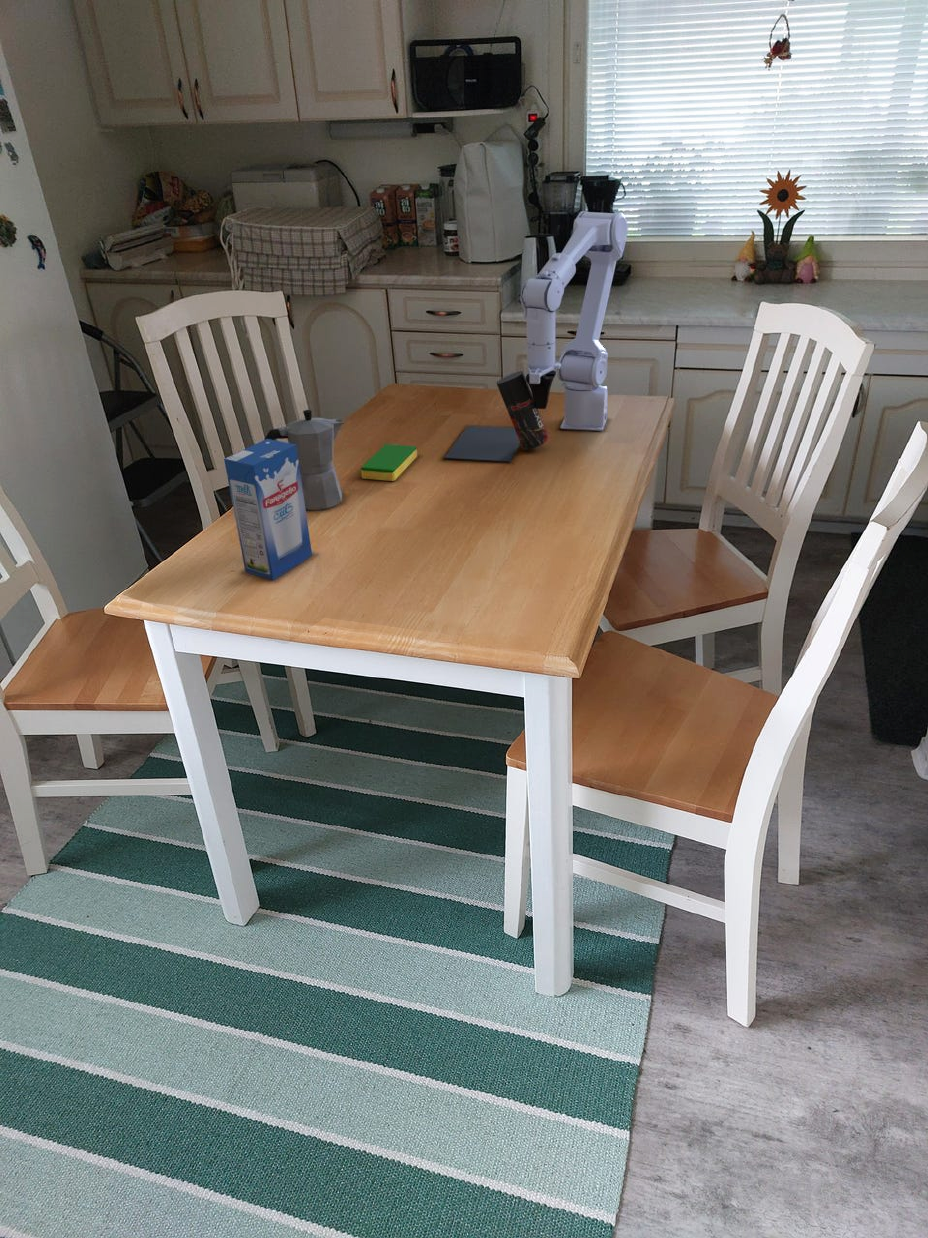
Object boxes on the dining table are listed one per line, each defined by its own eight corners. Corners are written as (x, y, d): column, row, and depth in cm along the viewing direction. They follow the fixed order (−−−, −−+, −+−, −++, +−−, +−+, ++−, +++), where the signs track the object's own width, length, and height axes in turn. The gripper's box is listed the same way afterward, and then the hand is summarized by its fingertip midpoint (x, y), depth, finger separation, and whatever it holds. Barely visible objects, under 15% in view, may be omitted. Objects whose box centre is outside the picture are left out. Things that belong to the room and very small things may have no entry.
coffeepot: (343, 485, 183) (333, 396, 173) (360, 501, 175) (350, 410, 166) (268, 502, 177) (253, 411, 168) (282, 519, 170) (267, 426, 160)
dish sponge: (361, 478, 185) (360, 467, 184) (386, 454, 196) (385, 443, 195) (394, 481, 183) (393, 470, 182) (417, 456, 194) (417, 445, 193)
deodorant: (547, 443, 191) (520, 376, 186) (520, 452, 193) (494, 386, 188) (550, 434, 196) (525, 368, 191) (525, 443, 198) (499, 378, 193)
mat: (528, 429, 205) (528, 428, 205) (509, 462, 189) (509, 461, 189) (467, 426, 209) (467, 425, 208) (444, 459, 192) (444, 457, 192)
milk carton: (273, 580, 150) (253, 465, 139) (245, 572, 153) (223, 458, 142) (312, 555, 157) (296, 444, 146) (285, 547, 160) (267, 438, 149)
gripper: (554, 352, 177) (554, 420, 184) (566, 332, 189) (565, 397, 196) (518, 351, 178) (519, 418, 185) (532, 332, 190) (533, 396, 197)
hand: (541, 407), depth 191 cm, fingers closed
